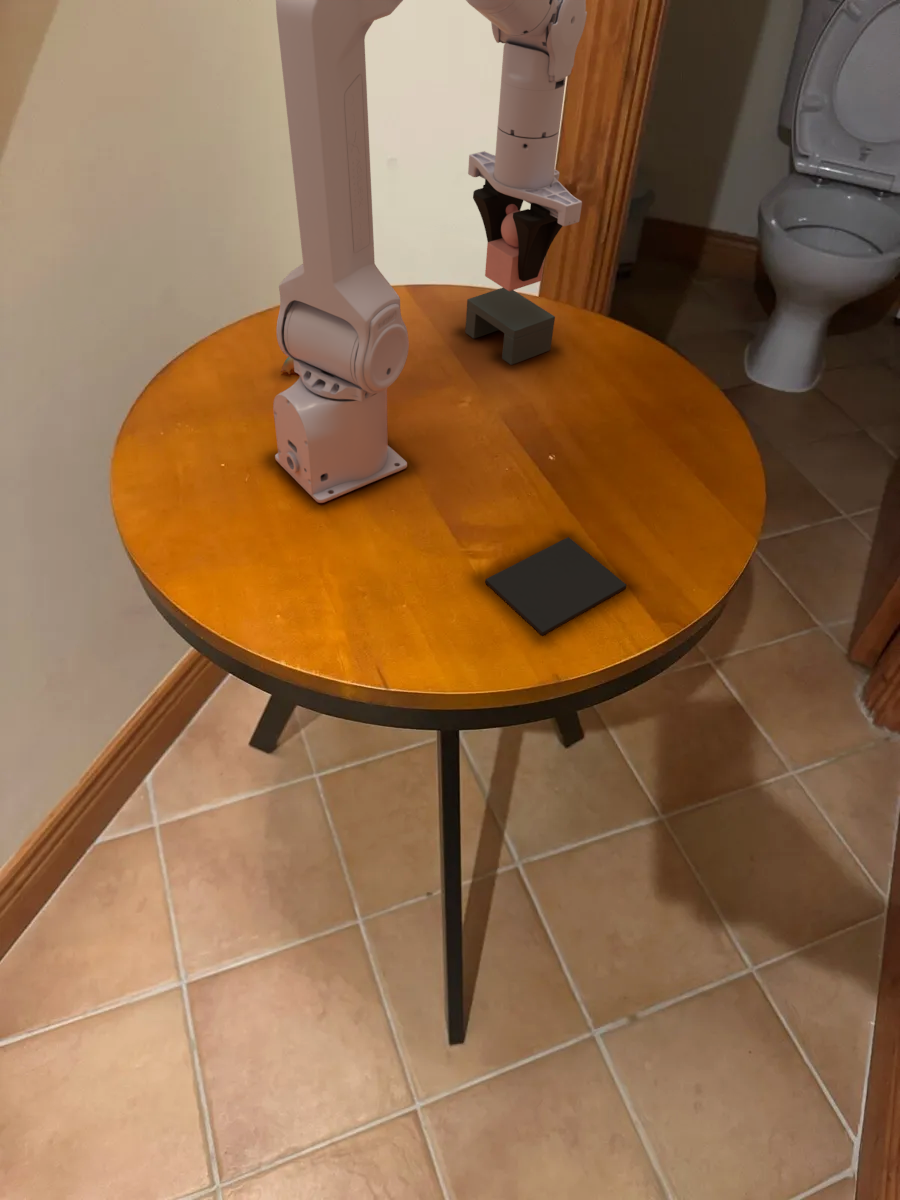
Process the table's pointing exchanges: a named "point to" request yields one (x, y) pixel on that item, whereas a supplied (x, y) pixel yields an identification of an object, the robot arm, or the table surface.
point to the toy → (506, 256)
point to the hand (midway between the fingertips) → (514, 269)
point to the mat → (555, 585)
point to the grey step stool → (511, 323)
